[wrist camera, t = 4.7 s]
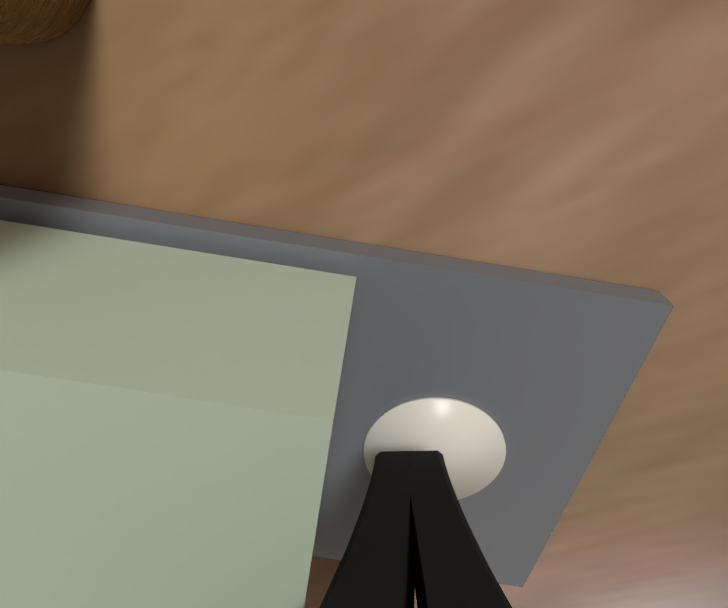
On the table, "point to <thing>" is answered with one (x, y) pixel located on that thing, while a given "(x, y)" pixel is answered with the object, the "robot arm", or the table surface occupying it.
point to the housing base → (436, 366)
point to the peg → (38, 19)
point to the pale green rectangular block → (161, 422)
